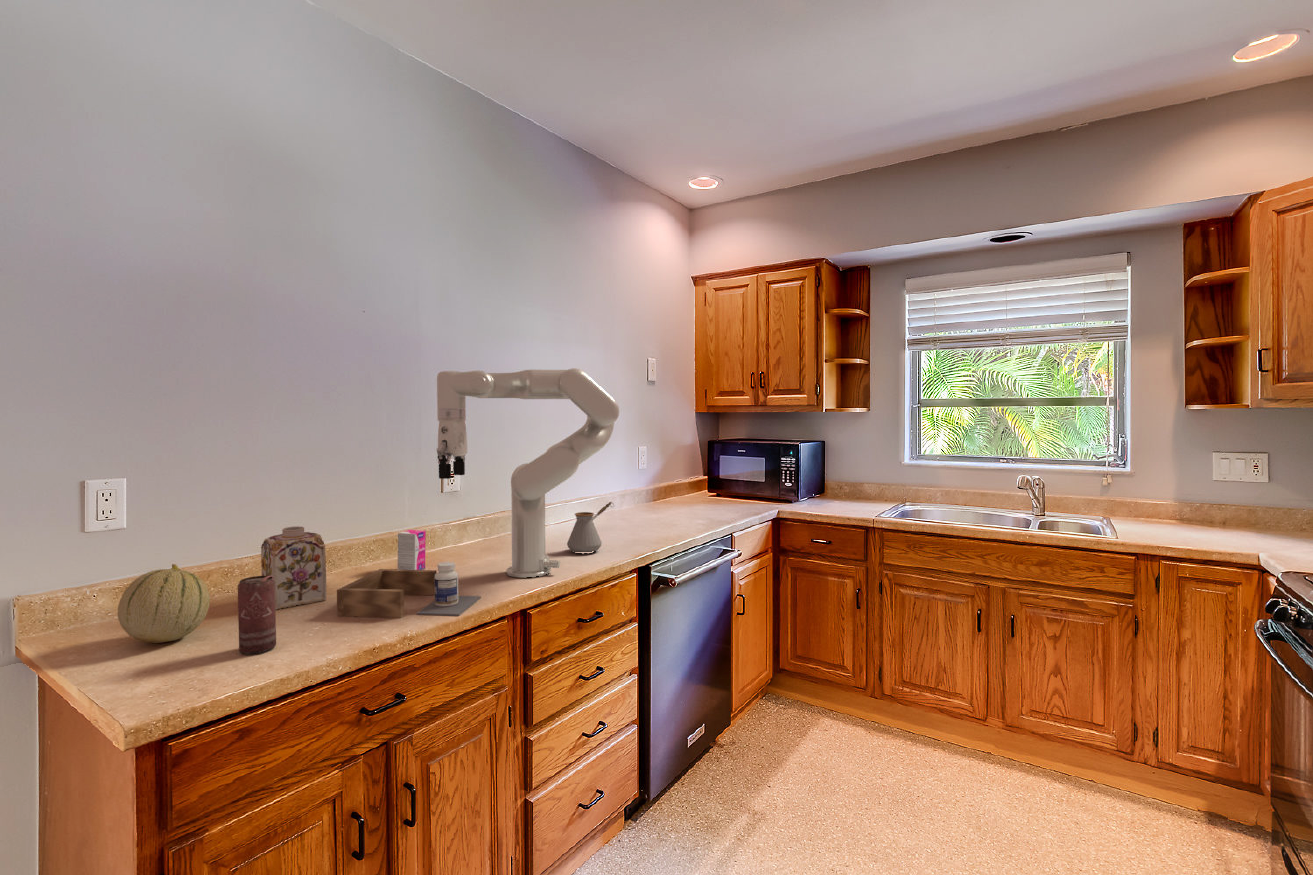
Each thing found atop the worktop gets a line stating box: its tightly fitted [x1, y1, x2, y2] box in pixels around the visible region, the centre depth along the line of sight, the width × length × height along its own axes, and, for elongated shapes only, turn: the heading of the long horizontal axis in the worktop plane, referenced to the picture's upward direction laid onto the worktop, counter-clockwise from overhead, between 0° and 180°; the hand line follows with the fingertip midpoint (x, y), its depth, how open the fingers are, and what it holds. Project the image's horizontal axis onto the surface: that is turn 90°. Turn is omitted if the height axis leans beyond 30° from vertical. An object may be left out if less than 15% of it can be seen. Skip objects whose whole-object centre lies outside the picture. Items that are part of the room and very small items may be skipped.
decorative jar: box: [260, 525, 327, 611], centre depth 154 cm, size 12×12×18 cm
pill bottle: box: [434, 561, 459, 607], centre depth 150 cm, size 5×5×10 cm
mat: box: [416, 595, 482, 617], centre depth 150 cm, size 10×14×1 cm
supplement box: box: [397, 529, 427, 570], centre depth 184 cm, size 6×6×12 cm
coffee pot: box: [566, 501, 615, 552], centre depth 213 cm, size 21×12×15 cm, turn 148°
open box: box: [336, 568, 438, 619], centre depth 152 cm, size 15×19×6 cm
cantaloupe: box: [117, 563, 211, 644], centre depth 127 cm, size 15×15×15 cm
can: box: [237, 575, 277, 656], centre depth 122 cm, size 6×6×14 cm
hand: (452, 476), depth 176 cm, fingers open, 9 cm apart
